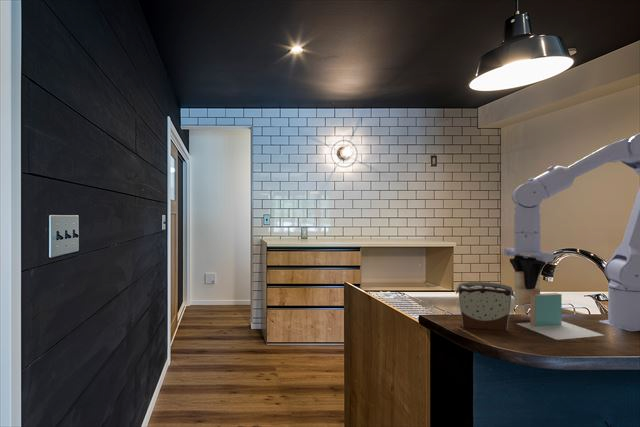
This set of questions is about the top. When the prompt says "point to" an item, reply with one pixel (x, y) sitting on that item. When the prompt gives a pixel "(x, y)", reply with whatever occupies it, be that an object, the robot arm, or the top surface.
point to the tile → (545, 309)
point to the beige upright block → (523, 289)
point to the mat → (561, 331)
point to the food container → (485, 305)
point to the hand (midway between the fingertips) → (527, 287)
